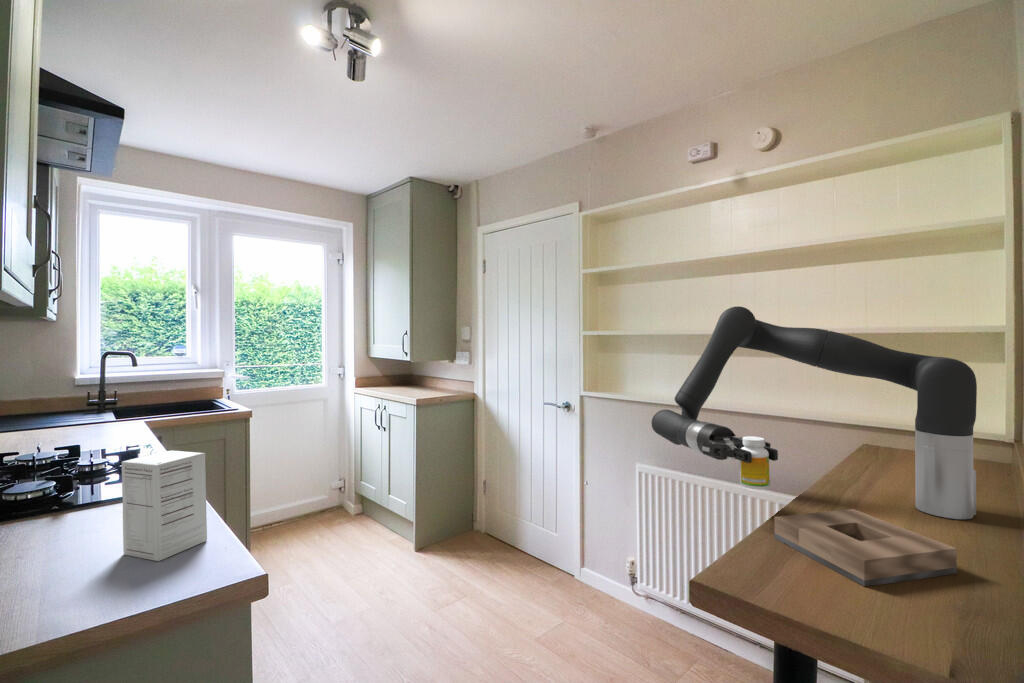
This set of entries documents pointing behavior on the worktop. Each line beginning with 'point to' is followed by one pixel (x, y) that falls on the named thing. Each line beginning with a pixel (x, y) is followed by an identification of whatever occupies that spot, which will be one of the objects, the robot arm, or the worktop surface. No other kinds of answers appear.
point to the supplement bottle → (755, 464)
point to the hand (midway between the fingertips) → (763, 456)
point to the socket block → (865, 547)
